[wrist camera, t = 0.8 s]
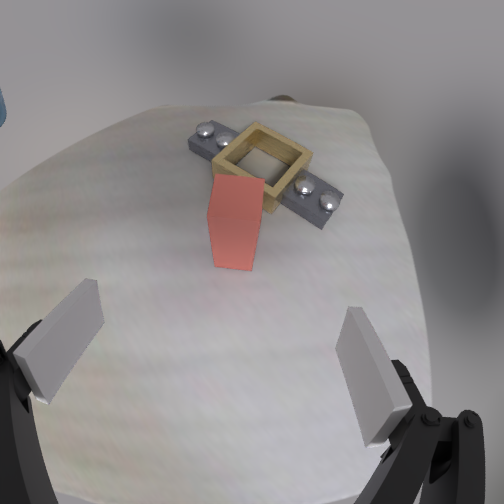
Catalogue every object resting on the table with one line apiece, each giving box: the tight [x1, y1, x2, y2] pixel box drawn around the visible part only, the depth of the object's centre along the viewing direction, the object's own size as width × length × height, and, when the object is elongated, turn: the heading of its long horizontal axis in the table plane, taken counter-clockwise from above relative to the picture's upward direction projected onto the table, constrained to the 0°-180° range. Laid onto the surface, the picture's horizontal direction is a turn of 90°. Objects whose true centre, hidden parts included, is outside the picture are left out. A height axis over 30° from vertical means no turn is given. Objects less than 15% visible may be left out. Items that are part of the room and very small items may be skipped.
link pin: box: [207, 174, 265, 271], centre depth 27 cm, size 4×4×11 cm
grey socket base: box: [188, 120, 344, 230], centre depth 35 cm, size 21×9×4 cm, turn 54°
